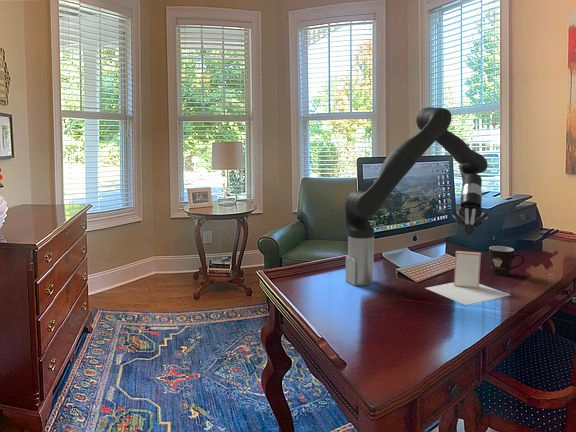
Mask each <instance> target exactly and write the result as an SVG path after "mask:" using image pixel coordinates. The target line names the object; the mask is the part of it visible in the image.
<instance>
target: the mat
mask: <svg viewBox="0 0 576 432" xmlns="http://www.w3.org/2000/svg"><path fill="white" fill-rule="evenodd" d="M425 289H426V290H428V291H431V292H433V293H435V294H438V295H440V296H442V297H445V298H448V299H450V300H452V301H454V302H457V303H460V304H461V305H464V307H467V306H468V305H472V304H477V303H482V302H483V303H484V302H487V301H490V300H491V301H492V300H496V299H499V298H504V297H509V296H511V294H509V293H507V292H503V291H501V290H499V289H495V288H492V287H489V286H486V285H484V284H481V283H479V289H478V288H469V287H459V286H454V282H448V283H443V284H439V285H434V286H429V287H425Z"/></svg>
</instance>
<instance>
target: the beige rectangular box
mask: <svg viewBox="0 0 576 432" xmlns="http://www.w3.org/2000/svg"><path fill="white" fill-rule="evenodd" d="M481 257H482V252H476V251H462V250H455V258H454V276H453V283H454V286H459V287H469V288H478V289H479V284H480V276H481V274H480V273H481Z"/></svg>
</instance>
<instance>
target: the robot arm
mask: <svg viewBox="0 0 576 432" xmlns="http://www.w3.org/2000/svg"><path fill="white" fill-rule="evenodd" d="M415 118H416V119H415V120H416V122H415V123H416V126H417V128H418V129H419V130H420V131H419V132H418V133H416V134H415V135H413V136H412V137H410V138H408V139H406V140H405V141H402V142H401V143H399V144H398V145H397V146H396V147H395V148H393V150H391V151H390V153H389V154H388V155H387V156H386V158H385V159H384V160H383V163H382V164H381V167H380V172H379V174H378V177H377V179H376V180H375V182H373V184H372V185H371V186H370V187H369V188H368V189H367V190H366V191H362V190H354V191H352V192H351V193H349V194H348V196H347V198H346V201H345V208H344V209H345V210H344V211H345V227H346V229H347V255H346V256H345V282H346V281H347V283H349V284H351V285H352V286H368V285H369V286H370V285H372V284H373V283H374V267H375V265H374V264H375V263H374V261H375V260H374V259H375V256H374V254H375V253H374V252H375V229H374V227H373V226H372V224H370V221H369V219H371V218H373V217H374V216H375V215H376V214H377V213H378V212H379V211H380V209H381V208H382V206H383V204H384V203H385V201H386V200H387V198H388V197H389V196H390V194H391V193H392V192H393V191H394V189H395V188H396V187H397V186H398V184H399V183H400V182H401V180H403V178H404V177H405V176H406V175H407V174H408V173H409V171H410V170H411V169H412V168H413V167H414V165H415V164H416V163H417V162H418V160H419V159H421V157H422V156H423V155H424V154H425V153H426V151H427V150H428V149H429V148H430V147H431V146H432V145H433V144H434V143H435V142H436V143H438V144H439V146H441V147H442V148H443V149H445V151H446V152H447V153H448V154H449V155H450V156H451V157H452V159H453V160H454V161H455V162H456V163H458V164H459V165H458V169H459V173H460V176H461V180H462V181H461V182H462V185H461V192H460V200H459V201H460V203H459V208H458V211H453V212H452V218H453V219H454V221H455V222H456V223H457V224H458V225H459V226H460V227H464V235H466V236H467V237H471V236H473V235H474V228H478V227H480V226H482V225H483V224H484V223H485V222H486V221H487V220H488V219H489V213H488V212H487V213H485V212H483V208H482V201H483V199H482V198H483V195H482V193H483V192H482V186H483V185H482V180H483V179H482V177H481V175H480V174H481V173H484V172H485V171H487V169H488V161H487V159H486V158H485V156H484V155H482V154H480V153H479V152H477V151H475V150H473V149H471V148H470V146H469V145H468V144H467V143H466V142H465V141H464V140H463V139H462V138H461V137H459V136H458V135H457V134H454V133H453V132H451V131H450V130H449V127H450V125H451V122H452V113H451V112H450V110H449V109H447V108H444V107H432V106H431V107H423V108H421V109H420V110H419V111H418V113H417V115H416V117H415ZM469 221H470V222H469Z"/></svg>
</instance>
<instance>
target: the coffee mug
mask: <svg viewBox="0 0 576 432" xmlns="http://www.w3.org/2000/svg"><path fill="white" fill-rule="evenodd" d="M488 250H489V251H488V252H489V268H490V273H491V274H492V275H496V276H501V277H502V276H503V277H504V276H505V277H507V276H510V274H511V270H513V269H515V268H517V267H520V266H521V265H523V264H524V263H525V257H524V256H523V255H522V254H519V253H518V254H517V253H515V248H512V247H509V246H504V245H503V246H501V245H496V246H495V245H492V246H489V248H488ZM516 257H520V258H521V259H522V262H521V263H520V264H517V265H514V266H512V264H513V260H514V258H516Z"/></svg>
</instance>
